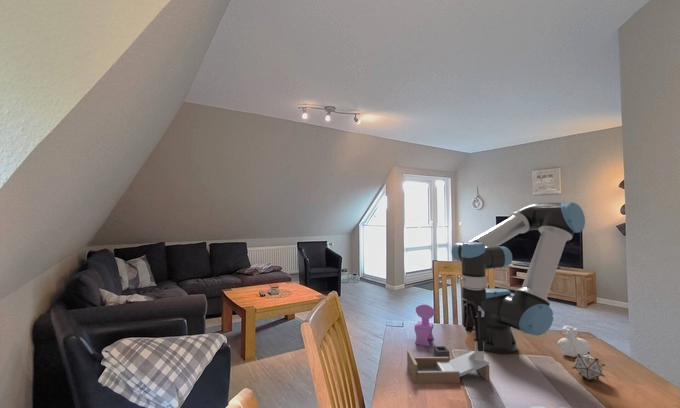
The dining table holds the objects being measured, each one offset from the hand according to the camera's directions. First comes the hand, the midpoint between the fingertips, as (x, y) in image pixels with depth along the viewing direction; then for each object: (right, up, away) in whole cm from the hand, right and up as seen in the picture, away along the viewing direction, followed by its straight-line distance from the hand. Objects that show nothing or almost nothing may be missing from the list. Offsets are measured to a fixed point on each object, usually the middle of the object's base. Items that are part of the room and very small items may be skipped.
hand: (474, 354), depth 109 cm
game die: (+36, -6, -4) cm, 37 cm away
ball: (0, +1, 0) cm, 1 cm away
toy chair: (-10, -7, +27) cm, 30 cm away
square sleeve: (-7, -7, +14) cm, 17 cm away
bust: (+44, -7, +14) cm, 47 cm away
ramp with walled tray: (-9, -7, 0) cm, 11 cm away
